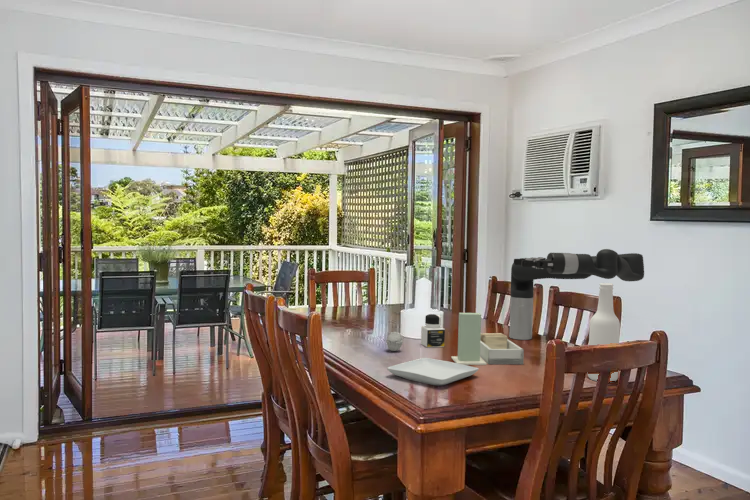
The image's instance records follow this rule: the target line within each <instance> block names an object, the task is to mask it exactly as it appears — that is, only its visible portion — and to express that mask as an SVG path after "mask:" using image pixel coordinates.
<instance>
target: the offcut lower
mask: <svg viewBox="0 0 750 500" xmlns="http://www.w3.org/2000/svg"><path fill="white" fill-rule="evenodd" d="M482 342H483V341H482ZM483 343H484V342H483ZM484 344H486V345H487V346H488V347H489V348H491V349H507V343H484Z"/></svg>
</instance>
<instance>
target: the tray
mask: <svg viewBox="0 0 750 500" xmlns="http://www.w3.org/2000/svg"><path fill="white" fill-rule="evenodd" d="M524 352H525V349H524V348H522V347H520V346H519V345H518V344H516V343H514V342H513V341H512V340H510V339H508V338H507V349H491V348H489V347H488V346H487V345H486V344H484V343H483V342H482V341H481V340H480V358H482V359H483V360H484V361H485V362H486V363H487V364H488V365H524V359H525V357H524V356H525V355H524V354H525V353H524Z"/></svg>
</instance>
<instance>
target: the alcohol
mask: <svg viewBox="0 0 750 500" xmlns="http://www.w3.org/2000/svg"><path fill="white" fill-rule="evenodd" d="M613 290H614V284H613V283H611V282H600V283H599V293H598V303H597V310H596V312H595V313H594V314H593V315H592V317H591V318H590V320H589V332H588V333H589V335H588V346H589V345H597V344H610V343H619V344H620V335H621V333H620V332H621V324H620V320H619V318H618V317H617V315H616V314H615V310H614V293H613V292H614V291H613ZM598 375H599V374H588V373H587V376H588V378H589V380H591V381H594V382H598V381H597V379H598ZM618 379H619V371H618V372H614V373H612V374H611V378H610V381H615V382H616V381H617V380H618Z"/></svg>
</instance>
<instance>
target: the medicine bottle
mask: <svg viewBox="0 0 750 500" xmlns="http://www.w3.org/2000/svg"><path fill="white" fill-rule="evenodd" d="M424 318H425V319H424V320H425V321H424V322H425V325H421V326H420V327H421V333H420V334H421V335H420V344H421V345H422V346H424V347H426V348H427V349H428V348H429V349H430V348H445V340H446V339H445V338H446V337H445V336H446V334H445V333H446V329H445V328H443V326H442V316H441V315H439V314H434V313H433V314H432V313H430V314H427V315H425V317H424Z"/></svg>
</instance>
